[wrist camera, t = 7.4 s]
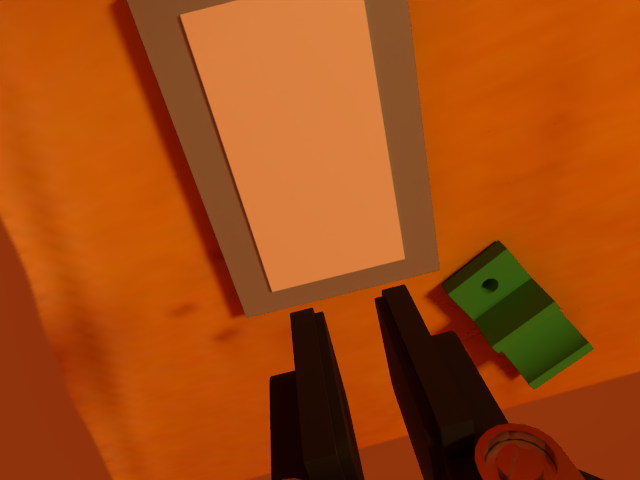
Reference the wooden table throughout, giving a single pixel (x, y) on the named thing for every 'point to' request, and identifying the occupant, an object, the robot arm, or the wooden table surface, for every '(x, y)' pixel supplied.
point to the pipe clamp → (517, 315)
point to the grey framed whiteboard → (299, 139)
